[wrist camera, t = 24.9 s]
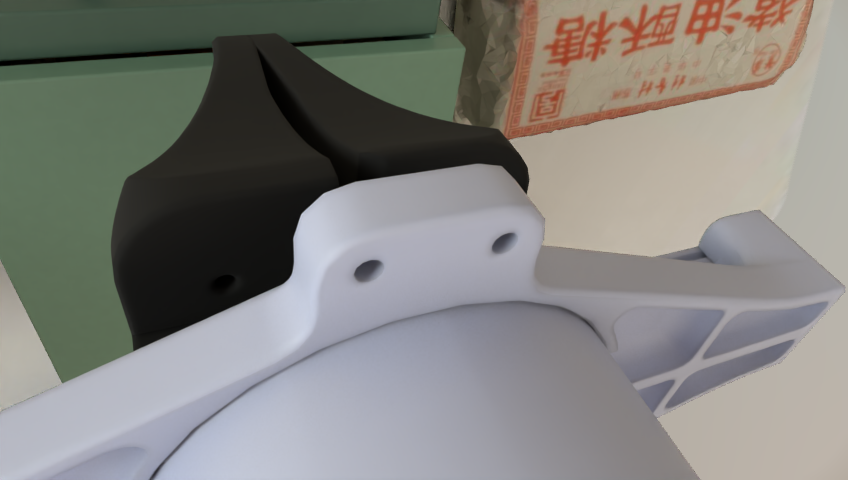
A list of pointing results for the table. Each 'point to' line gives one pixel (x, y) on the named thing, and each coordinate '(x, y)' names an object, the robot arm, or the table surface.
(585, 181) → the table surface
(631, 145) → the table surface
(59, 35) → the drawer
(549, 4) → the packaged product
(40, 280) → the small green cabinet
